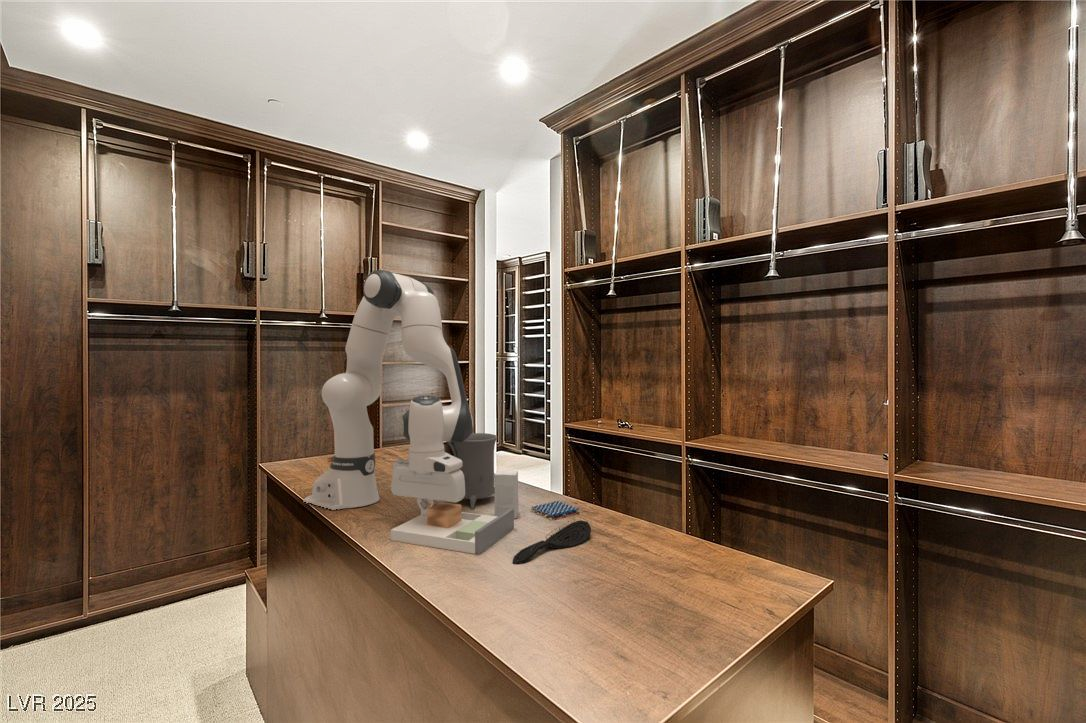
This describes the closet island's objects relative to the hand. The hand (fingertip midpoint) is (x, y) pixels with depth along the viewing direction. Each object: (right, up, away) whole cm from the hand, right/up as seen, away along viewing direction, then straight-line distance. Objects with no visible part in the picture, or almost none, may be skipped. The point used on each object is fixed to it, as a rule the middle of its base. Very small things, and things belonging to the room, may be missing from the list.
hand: (427, 515), depth 128 cm
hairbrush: (+31, -4, -11) cm, 34 cm away
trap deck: (+7, -4, -3) cm, 9 cm away
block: (+5, -1, -2) cm, 5 cm away
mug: (+8, -4, +25) cm, 26 cm away
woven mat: (+32, -4, +14) cm, 35 cm away
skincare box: (+19, -4, +11) cm, 22 cm away
